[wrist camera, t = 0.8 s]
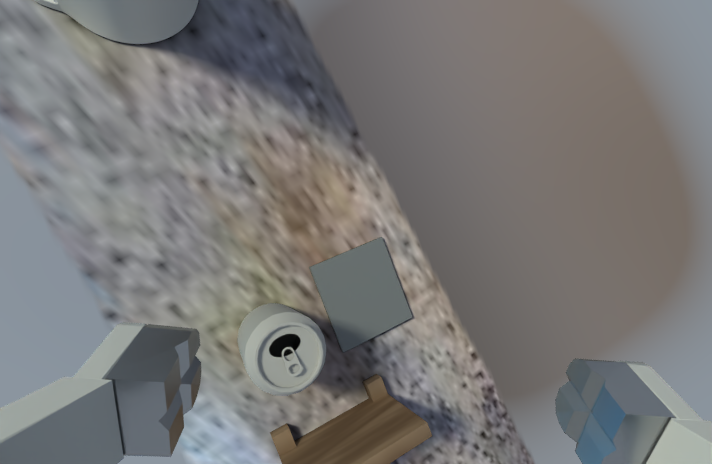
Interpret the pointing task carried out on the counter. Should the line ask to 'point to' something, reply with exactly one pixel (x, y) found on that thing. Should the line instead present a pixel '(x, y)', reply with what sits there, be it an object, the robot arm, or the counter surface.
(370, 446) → the walnut screen
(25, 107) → the counter surface
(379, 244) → the slate mat
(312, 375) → the can
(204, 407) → the counter surface
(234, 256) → the counter surface
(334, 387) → the counter surface
